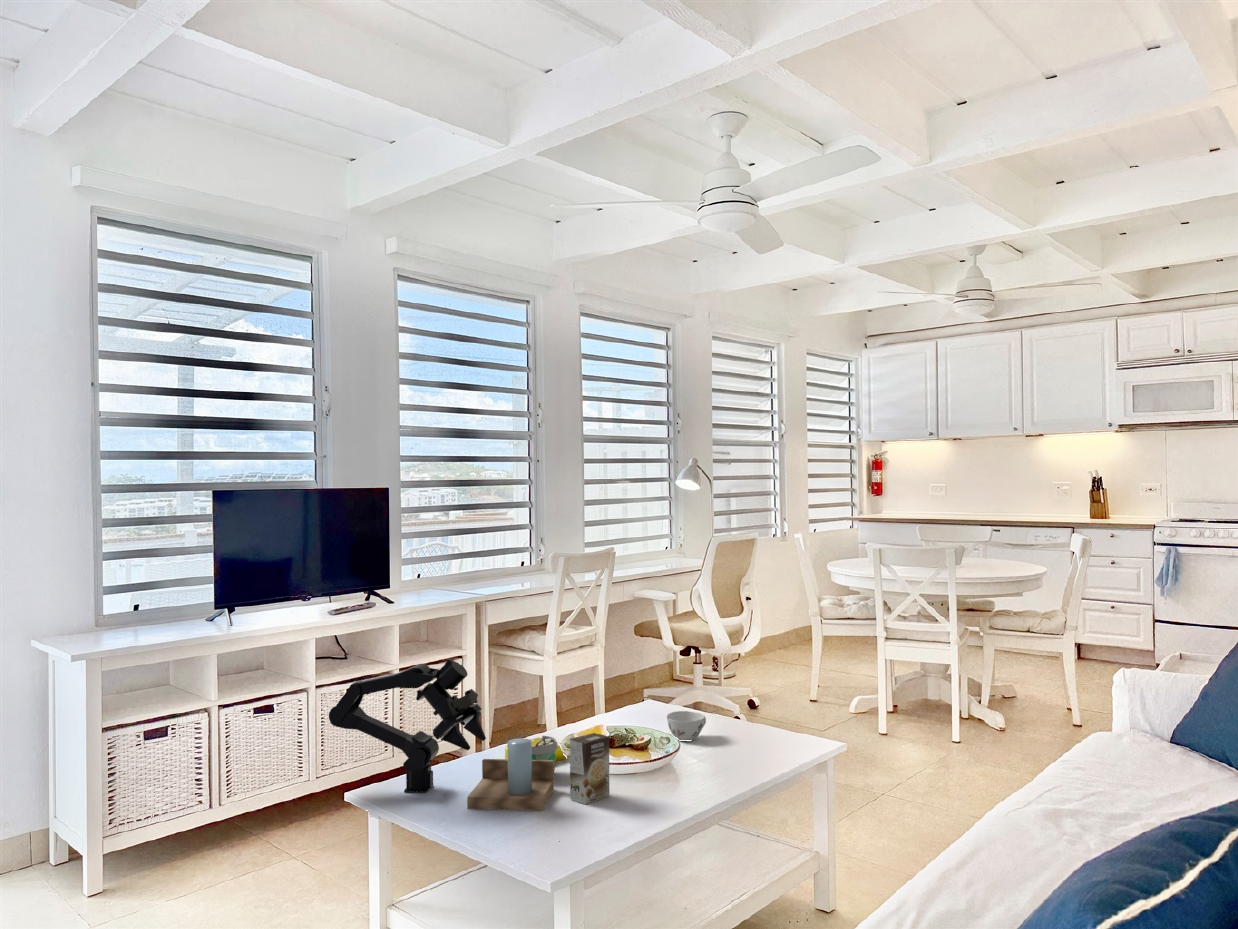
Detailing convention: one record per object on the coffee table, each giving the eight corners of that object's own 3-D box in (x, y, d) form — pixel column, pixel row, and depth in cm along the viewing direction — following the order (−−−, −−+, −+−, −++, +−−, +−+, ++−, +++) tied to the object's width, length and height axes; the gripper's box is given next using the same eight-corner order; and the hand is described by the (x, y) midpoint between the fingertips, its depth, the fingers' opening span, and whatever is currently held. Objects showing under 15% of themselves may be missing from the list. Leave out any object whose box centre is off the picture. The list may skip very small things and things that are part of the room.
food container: (551, 783, 241) (551, 748, 242) (530, 782, 243) (530, 747, 243) (563, 770, 254) (562, 736, 254) (543, 769, 255) (542, 735, 255)
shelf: (467, 808, 223) (467, 777, 223) (483, 787, 239) (483, 759, 239) (542, 810, 221) (542, 779, 221) (553, 789, 237) (553, 760, 237)
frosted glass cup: (509, 796, 223) (508, 745, 224) (506, 788, 229) (506, 739, 230) (533, 793, 224) (533, 743, 225) (530, 786, 231) (529, 737, 231)
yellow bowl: (539, 750, 275) (538, 735, 276) (570, 759, 265) (570, 744, 265) (502, 761, 265) (502, 745, 265) (533, 771, 254) (533, 755, 254)
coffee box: (585, 805, 224) (584, 743, 225) (569, 799, 229) (568, 738, 229) (610, 796, 231) (609, 736, 231) (594, 790, 235) (593, 731, 236)
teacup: (682, 747, 274) (682, 722, 274) (659, 738, 285) (658, 714, 285) (718, 739, 283) (717, 715, 283) (694, 731, 293) (694, 707, 293)
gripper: (443, 689, 228) (480, 734, 224) (475, 675, 246) (510, 716, 242) (417, 717, 230) (453, 762, 226) (450, 701, 248) (485, 742, 244)
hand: (477, 744), depth 235 cm, fingers open, 9 cm apart
